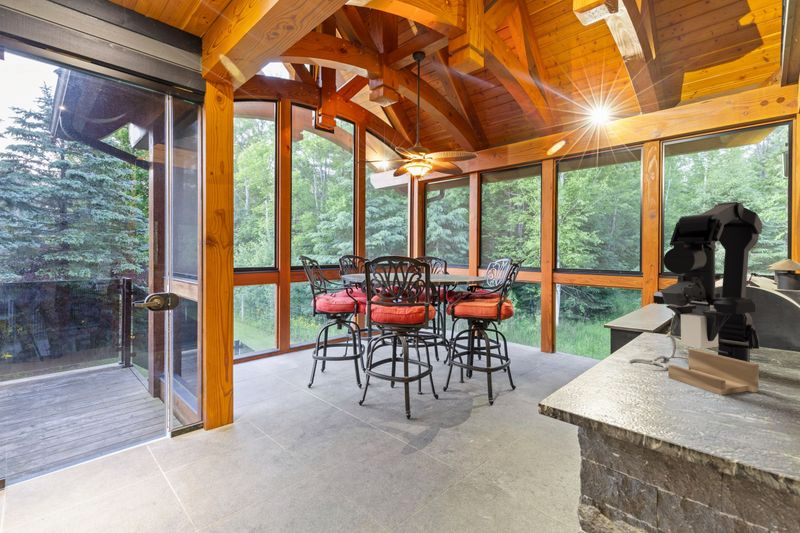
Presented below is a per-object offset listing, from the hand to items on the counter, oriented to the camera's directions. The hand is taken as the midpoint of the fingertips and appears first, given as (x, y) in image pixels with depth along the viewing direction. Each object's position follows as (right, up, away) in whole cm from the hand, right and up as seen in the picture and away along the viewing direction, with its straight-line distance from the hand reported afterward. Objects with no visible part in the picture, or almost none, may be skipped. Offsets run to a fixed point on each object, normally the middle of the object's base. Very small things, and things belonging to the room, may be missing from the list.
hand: (699, 338), depth 85 cm
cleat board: (+4, -11, +2) cm, 12 cm away
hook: (+4, -11, +20) cm, 23 cm away
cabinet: (0, -2, 0) cm, 2 cm away
